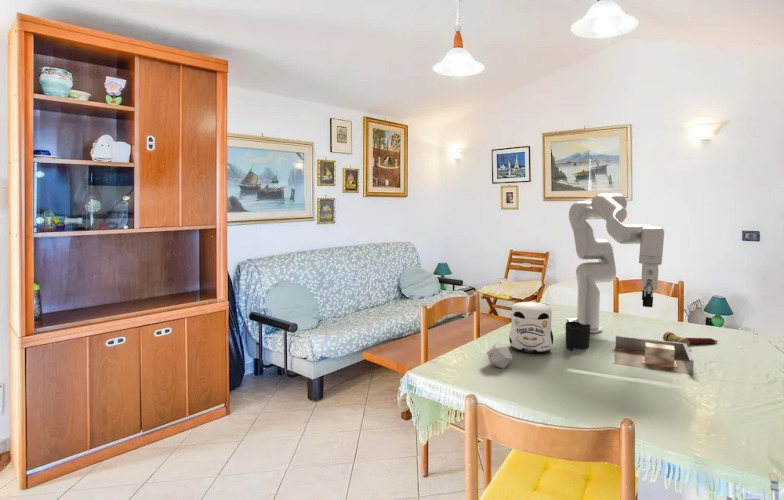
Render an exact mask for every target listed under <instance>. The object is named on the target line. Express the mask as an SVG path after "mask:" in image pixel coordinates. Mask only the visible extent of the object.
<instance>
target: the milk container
mask: <svg viewBox="0 0 784 500" xmlns="http://www.w3.org/2000/svg"><path fill="white" fill-rule="evenodd" d="M552 311H553V310H552V306H551V305H549V304H547V303H542V302H536V301H522V302H520V301H519V302H515V303H513V304H512V306H511V326H510V330H509V335H508V338H509V339H508V340H509V344H510V347H512V348H513V349H515V350H517V351H520V352H524V353H531V354H540V353H545V352H549V351H550V350H552V347H553V345H554V335H553V331H552V313H553V312H552Z"/></svg>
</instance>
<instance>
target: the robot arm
mask: <svg viewBox="0 0 784 500" xmlns="http://www.w3.org/2000/svg"><path fill="white" fill-rule="evenodd" d="M627 207H628V200H627V199H626V196H624V195H623V194H620V193H600V194H597V195H595V196H593V197H592V199H591V200H584V201H583V200H581V201H577V202H574V203H572V204H571V206H570V208H569V211H568V221H569V224H570V227H571V229H572V232H573V237H574V247H575V250H576V255H577V257H578V259H580V260H585V261H587V262H583V263H580V264H579V265H577V267H576V269H575V276H576V283H577V305H576V306H577V307H576V318H566V322H571V321H575V322H579V323H581V324H584V325H587V324H589V325H590V334H596V333H601V332H602V331H603V327H602V326H601V325H599V324H600V309H601V307H600V305H601V303H600V301H601V292H600V289H599V287H598V286H597V284H598V283H599V284H600V283H610V282H613V281H614V280H615V279H616V275H617V267H616V263H615V256H614V249H613V246H612V244H611V243H610V242H609V240H607V239H604V238H595V234H594V229H593V228H592V226H591V225H590V223H589V222H587V220H604V221H606V223H605V226H606V227H605V228H606V232H607V234H608V235H609V236H610V237H611V238H612V239H613V240H614V241H616V242H617V243H619V244H620V245H621V244H622V245H638V244H639V256H638V263H639V264H641V289H642V291H641V300H642V307H643V308H644V307H645V308H653V303H654V292H657V291H658V283H659V282H658V280H659V266H662V264H663V252H664V243H665V241H664V240H665V229H664V228H663V227H660V226H652V225H650V224H643V223H642V224H624V223H623V222H625V220H626V218H627V216H628V212H627V210H626V209H627ZM588 260H590V261H588ZM591 260H593V261H592V262H591ZM594 260H597V261H594Z"/></svg>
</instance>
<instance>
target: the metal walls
mask: <svg viewBox="0 0 784 500" xmlns="http://www.w3.org/2000/svg"><path fill="white" fill-rule="evenodd" d="M645 343H653V344H662V345H670V346H674V349H675V356H681V357H683V360H684V363H685V365H686V368H687V371H688V373H689V374H688V375H691V374H692V376H693V375H694V364H695V363H694V362H695V361H694V358H693V356H692V353H691V351H690V347H689V348H688V346H687V344H686V343H679V342H670V341H664V340H661V339H660V340H659V339H651V338H641V337H633V336H624V335H615V343H614V344H615V345H614V347H615V348H617V349H625V350H633V351H641V352H645ZM615 348H614V349H615Z"/></svg>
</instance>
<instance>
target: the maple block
mask: <svg viewBox="0 0 784 500" xmlns="http://www.w3.org/2000/svg"><path fill="white" fill-rule="evenodd" d="M674 357H675V349H674V346H670V345H662V344H653V343H645V362H646V363H653V364H661V365H668V366H674Z"/></svg>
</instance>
